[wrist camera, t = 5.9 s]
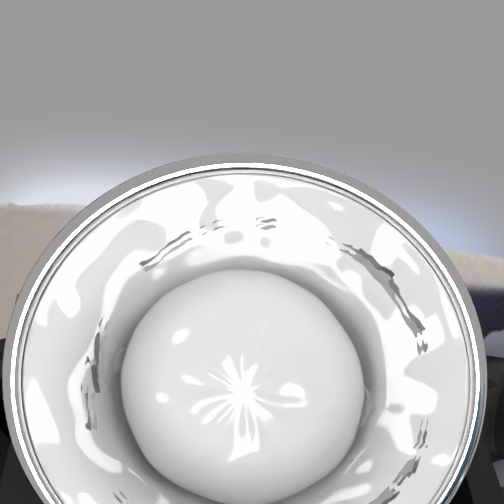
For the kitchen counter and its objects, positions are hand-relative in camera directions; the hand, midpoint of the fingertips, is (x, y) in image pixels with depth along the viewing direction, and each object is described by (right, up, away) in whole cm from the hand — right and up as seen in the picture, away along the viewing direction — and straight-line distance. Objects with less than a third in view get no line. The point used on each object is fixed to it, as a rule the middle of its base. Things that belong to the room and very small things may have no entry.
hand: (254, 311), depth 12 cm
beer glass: (-1, -6, +4) cm, 7 cm away
